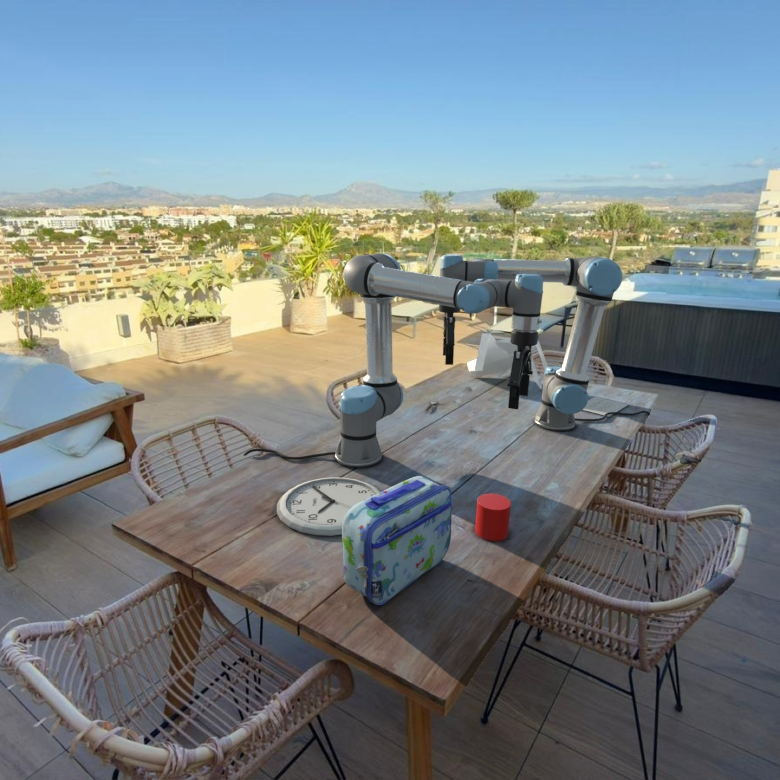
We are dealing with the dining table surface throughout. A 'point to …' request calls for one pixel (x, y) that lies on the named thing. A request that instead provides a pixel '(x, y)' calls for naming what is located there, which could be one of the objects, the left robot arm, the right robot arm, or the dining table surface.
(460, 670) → the dining table surface
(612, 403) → the invitation card
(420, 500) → the lunch box
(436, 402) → the fork
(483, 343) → the white plastic object
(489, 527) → the canister
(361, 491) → the wall clock
